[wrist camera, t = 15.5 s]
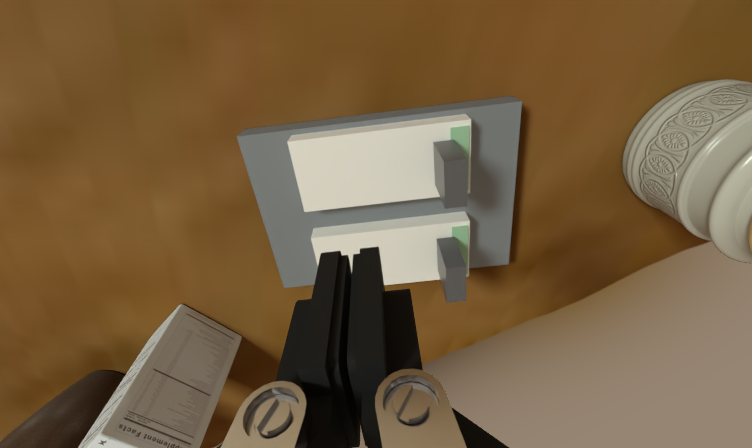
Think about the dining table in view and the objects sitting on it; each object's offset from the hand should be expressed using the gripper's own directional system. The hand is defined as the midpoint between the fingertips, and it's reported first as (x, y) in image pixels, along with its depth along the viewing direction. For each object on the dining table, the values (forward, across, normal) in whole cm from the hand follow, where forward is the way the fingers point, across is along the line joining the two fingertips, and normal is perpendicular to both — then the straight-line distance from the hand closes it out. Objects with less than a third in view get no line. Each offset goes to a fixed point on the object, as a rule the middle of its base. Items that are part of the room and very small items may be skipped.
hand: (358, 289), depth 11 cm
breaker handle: (+22, -7, +15) cm, 28 cm away
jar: (+27, -32, +8) cm, 43 cm away
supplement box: (+27, +27, +28) cm, 48 cm away
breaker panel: (+27, -1, +10) cm, 29 cm away
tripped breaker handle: (+22, -7, +5) cm, 24 cm away
